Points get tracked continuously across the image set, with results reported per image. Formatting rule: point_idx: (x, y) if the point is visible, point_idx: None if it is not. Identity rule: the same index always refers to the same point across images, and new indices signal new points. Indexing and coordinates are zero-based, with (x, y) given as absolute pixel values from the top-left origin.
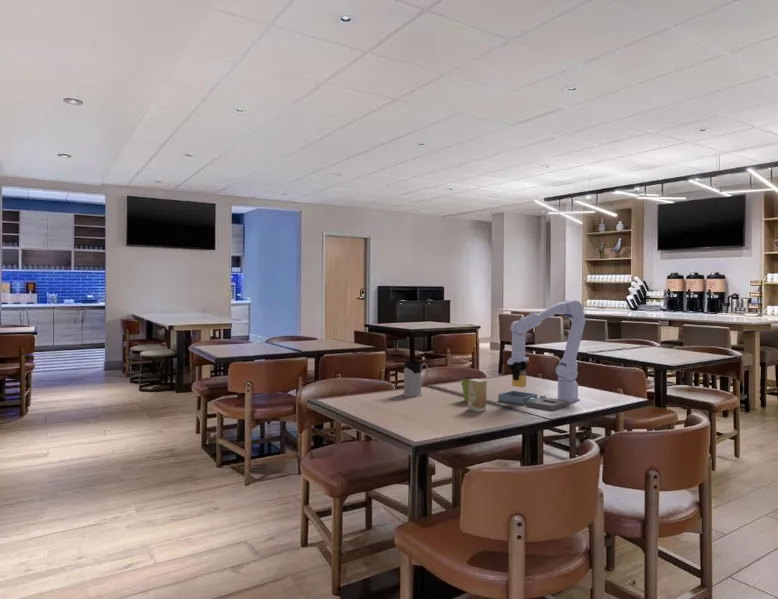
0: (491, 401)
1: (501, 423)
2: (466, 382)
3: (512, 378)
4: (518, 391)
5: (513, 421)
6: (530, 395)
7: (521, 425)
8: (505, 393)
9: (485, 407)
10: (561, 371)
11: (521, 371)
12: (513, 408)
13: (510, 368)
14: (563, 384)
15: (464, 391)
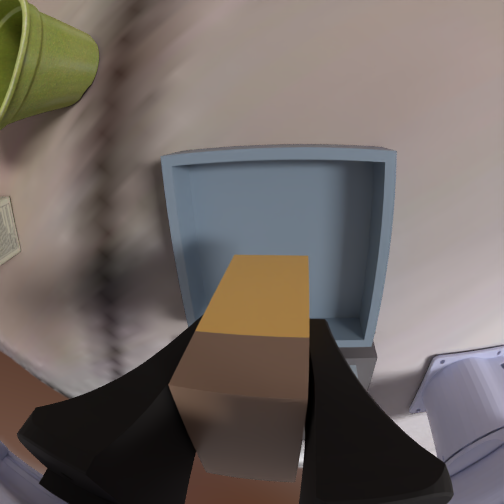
0: (138, 133)
1: (15, 344)
2: (16, 3)
3: (213, 299)
4: (389, 207)
5: (39, 360)
6: (368, 301)
7: (42, 379)
8: (249, 159)
9: (11, 257)
10: (461, 499)
11: (205, 462)
12: (116, 310)
13: (89, 397)
14: (439, 451)
15: (4, 69)
